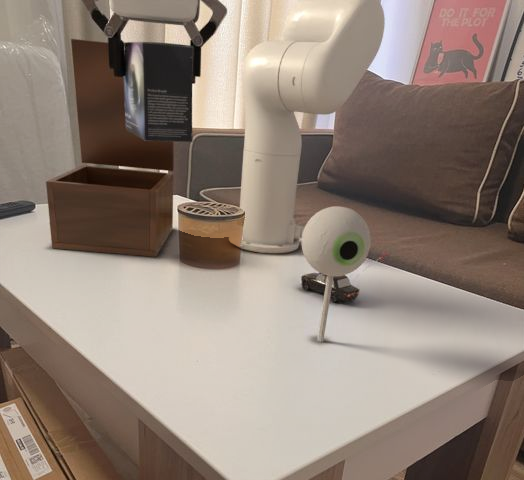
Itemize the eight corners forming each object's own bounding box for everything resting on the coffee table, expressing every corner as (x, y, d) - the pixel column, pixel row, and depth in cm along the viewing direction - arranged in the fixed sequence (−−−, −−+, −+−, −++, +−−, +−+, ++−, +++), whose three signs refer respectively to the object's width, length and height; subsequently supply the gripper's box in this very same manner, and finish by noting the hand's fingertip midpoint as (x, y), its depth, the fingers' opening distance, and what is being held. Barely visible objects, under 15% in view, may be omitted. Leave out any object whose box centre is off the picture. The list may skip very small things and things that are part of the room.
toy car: (314, 283, 77) (322, 230, 74) (382, 310, 70) (394, 252, 66) (297, 287, 75) (304, 232, 71) (364, 316, 67) (376, 256, 64)
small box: (122, 130, 70) (118, 40, 66) (169, 132, 73) (169, 46, 68) (142, 141, 62) (139, 38, 57) (194, 142, 65) (196, 45, 60)
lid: (173, 49, 83) (177, 48, 87) (70, 38, 82) (80, 38, 87) (173, 171, 93) (177, 164, 97) (81, 162, 92) (89, 156, 96)
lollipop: (301, 356, 56) (321, 214, 49) (281, 328, 62) (296, 198, 55) (362, 353, 58) (389, 216, 51) (336, 326, 64) (357, 200, 57)
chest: (156, 257, 82) (156, 191, 77) (51, 248, 81) (45, 181, 76) (172, 229, 98) (173, 173, 93) (85, 221, 97) (82, 165, 92)
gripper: (234, -82, 61) (227, 86, 69) (81, -100, 59) (91, 73, 67) (233, -102, 54) (225, 87, 62) (61, -122, 53) (75, 73, 61)
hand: (155, 79), depth 65 cm, fingers closed on small box, 8 cm apart
